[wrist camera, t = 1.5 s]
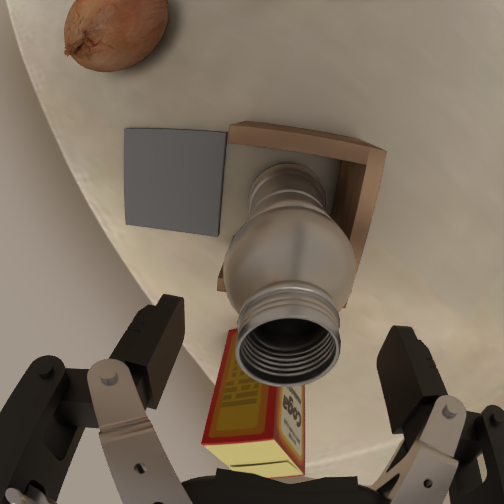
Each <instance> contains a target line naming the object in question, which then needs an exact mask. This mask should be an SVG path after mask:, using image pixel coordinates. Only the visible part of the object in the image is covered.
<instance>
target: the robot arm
mask: <svg viewBox="0 0 504 504" xmlns="http://www.w3.org/2000/svg"><path fill="white" fill-rule="evenodd" d="M184 334H185V316H184V298H183V297H178V296H173V295H167V294H163V295H162V297H161V298H160V300H159V302H158V303H157V305H156V306H154V305H147V306H146V307H144V308H143V309H141V310H140V311H138V313H137V314H136V316H135V317H134V319H133V321H132V323H131V324H130V325H129V327H128V329H127V330H126V332H125V333H124V335H123V336H122V338H121V339H120V341H119V343H118V344H117V346H116V348H115V349H114V351H113V352H112V354H111V356H110V357H109V359H104V360H101V361H99V362H97V363H95V364H94V365H92V366H91V368H90V369H71V368H65V366H64V364H63V362H62V361H61V360H60V359H59V358H58V357H55V356H50V355H47V356H42V357H39V358H37V359H36V360H34V361H33V362H32V364H31V365H30V366H29V368H28V369H27V371H26V372H25V374H24V375H23V377H22V378H21V380H20V381H19V383H18V384H17V386H16V388H15V389H14V391H13V392H12V394H11V395H10V397H9V399H8V400H7V402H6V404H5V405H4V407H3V409H2V411H1V412H0V504H57V503H56V501H57V498H58V495H59V493H60V490H61V487H62V484H63V481H64V479H65V476H66V474H67V471H68V468H69V466H70V463H71V461H72V458H73V456H74V453H75V451H76V448H77V446H78V443H79V441H80V439H81V436H82V434H83V431H84V429H85V427H89V428H100V432H99V438H100V442H101V445H102V448H103V451H104V454H105V457H106V460H107V463H108V466H109V469H110V471H111V474H112V477H113V479H114V482H115V485H116V487H117V490H118V492H119V495H120V497H121V500H122V502H123V504H442V503H443V501H444V499H445V497H446V494H447V492H448V490H449V495H450V502H451V504H504V411H503V410H502V409H501V408H500V407H498V406H496V405H489V406H487V407H486V408H485V409H484V410H483V411H482V412H481V414H480V413H475V412H470V411H466V409H465V407H464V405H463V404H462V402H461V401H460V400H459V399H457V398H456V397H453V396H450V395H448V394H447V391H446V389H445V386H444V384H443V381H442V379H441V376H440V374H439V372H438V369H437V368H436V365H435V362H434V360H432V359H433V358H432V356H431V353H430V351H429V349H428V348H427V347H426V345H425V344H424V343H423V342H422V341H421V340H418V339H417V337H416V335H415V333H414V331H413V329H412V327H408V326H395V325H394V326H392V327H391V329H390V331H389V333H388V335H387V337H386V339H385V341H384V343H383V346H382V348H381V350H380V352H379V354H378V357H377V370H378V374H379V378H380V382H381V386H382V390H383V394H384V398H385V403H386V407H387V411H388V416H389V420H390V425H391V430H392V434H402V433H403V434H404V439H403V440H402V441H401V442H400V444H399V446H398V448H397V449H396V451H395V453H394V455H393V456H392V458H391V460H390V461H389V463H388V465H387V466H386V468H385V469H384V471H383V473H382V474H381V476H380V477H379V478H378V480H377V481H376V482H375V483H374V484H373V485H372V486H371V487H370V488H368V487H366V486H362V485H358V479H357V476H354V477H324V478H320V479H315V480H311V481H306V482H301V483H295V484H285V483H282V482H279V481H275V480H271V479H269V478H266V477H263V476H260V475H257V474H254V473H247V472H239V471H232V470H226V469H219V468H217V471H216V475H215V476H203V477H198V478H193V479H190V480H187V481H184V482H182V483H181V482H180V481H179V479H178V477H177V475H176V473H175V471H174V469H173V467H172V465H171V463H170V461H169V459H168V458H167V455H166V453H165V452H164V449H163V447H162V445H161V443H160V441H159V439H158V437H157V434H156V432H155V430H154V428H153V425H152V424H151V422H150V420H149V419H148V417H147V415H146V412H145V410H146V408H147V407H148V408H152V409H157V406H158V404H159V401H160V398H161V396H162V393H163V390H164V388H165V386H166V383H167V380H168V378H169V375H170V373H171V370H172V368H173V365H174V363H175V361H176V358H177V356H178V353H179V351H180V348H181V346H182V343H183V339H184ZM482 453H483V456H484V460H485V464H486V469H487V477H486V479H485V481H484V482H483V483H482V479H481V474H480V470H479V465H478V461H477V457H478V456H479V455H480V454H482Z"/></svg>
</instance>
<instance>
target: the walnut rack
mask: <svg viewBox="0 0 504 504" xmlns="http://www.w3.org/2000/svg"><path fill="white" fill-rule="evenodd" d="M228 143H230V144H240V145H249V146H258V147H266V148H273V149H280V150H287V151H294V152H301V153H307V154H313V155H319V156H324V157H330V158H335V159H340V160H342V163H341V169H340V174H339V179H338V185H337V190H336V195H335V200H334V205H333V209H332V214H331V219H332V220H333V221H334V222H336V224H337V225H338V226H339V227H340V228H341V230H342V231H343V232H344V234H345V235H346V237H347V238H348V240H349V242H350V244H351V246H352V248H353V252H354V256H355V276H356V273H357V269H358V266H359V263H360V259H361V256H362V253H363V249H364V245H365V242H366V238H367V235H368V231H369V227H370V223H371V219H372V215H373V211H374V207H375V203H376V199H377V195H378V191H379V186H380V182H381V177H382V172H383V168H384V163H385V158H386V153H387V151H385V150H383V149H381V148H378V147H376V146H374V145H371V144H369V143H367V142H364V141H362V140H360V139H356V138H351V137H347V136H342V135H337V134H332V133H326V132H321V131H315V130H309V129H303V128H297V127H290V126H283V125H276V124H268V123H259V122H250V121H244V122H240V123H236V124H232V125H230V129H229V139H228ZM234 237H235V236H234ZM234 237H233V239H234ZM232 241H233V240H232ZM223 265H224V263H223ZM223 265H222V268H221V271H220V273H219V276H218V283H217V291H222V292H226V288H225V283H224V278H223ZM354 279H355V277H354ZM347 301H348V300H347ZM346 304H347V302H346V303H345V305H344V306H343V307H342V308H345V307H346Z"/></svg>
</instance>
